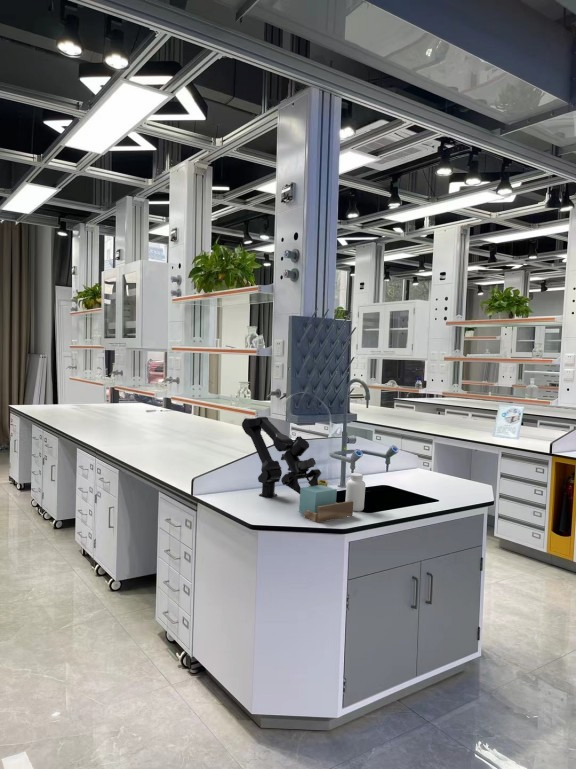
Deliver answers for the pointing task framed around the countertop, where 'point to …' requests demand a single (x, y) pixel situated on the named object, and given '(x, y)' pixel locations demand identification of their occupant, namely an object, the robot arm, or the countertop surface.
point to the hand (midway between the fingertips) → (310, 493)
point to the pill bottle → (356, 491)
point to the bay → (330, 512)
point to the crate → (316, 497)
